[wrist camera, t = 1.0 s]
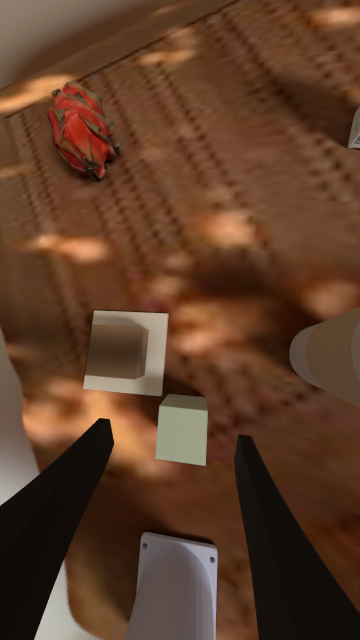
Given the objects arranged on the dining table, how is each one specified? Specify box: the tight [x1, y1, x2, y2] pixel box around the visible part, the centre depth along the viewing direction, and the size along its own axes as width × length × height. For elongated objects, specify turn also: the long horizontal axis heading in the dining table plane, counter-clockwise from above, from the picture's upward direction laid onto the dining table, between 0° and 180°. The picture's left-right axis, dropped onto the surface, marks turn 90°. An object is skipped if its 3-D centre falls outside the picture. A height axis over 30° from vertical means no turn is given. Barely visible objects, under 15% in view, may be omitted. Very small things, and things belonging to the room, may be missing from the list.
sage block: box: [155, 394, 208, 466], centre depth 19 cm, size 4×4×5 cm
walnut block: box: [85, 324, 149, 380], centre depth 21 cm, size 6×6×4 cm
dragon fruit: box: [46, 81, 121, 181], centre depth 26 cm, size 8×8×12 cm
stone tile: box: [83, 310, 168, 396], centre depth 23 cm, size 10×10×1 cm
